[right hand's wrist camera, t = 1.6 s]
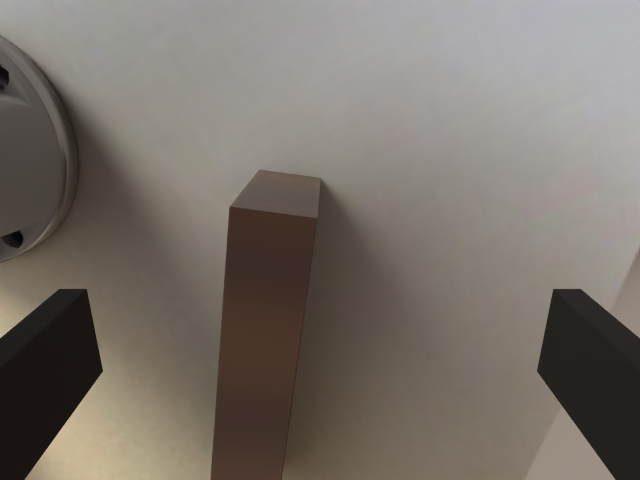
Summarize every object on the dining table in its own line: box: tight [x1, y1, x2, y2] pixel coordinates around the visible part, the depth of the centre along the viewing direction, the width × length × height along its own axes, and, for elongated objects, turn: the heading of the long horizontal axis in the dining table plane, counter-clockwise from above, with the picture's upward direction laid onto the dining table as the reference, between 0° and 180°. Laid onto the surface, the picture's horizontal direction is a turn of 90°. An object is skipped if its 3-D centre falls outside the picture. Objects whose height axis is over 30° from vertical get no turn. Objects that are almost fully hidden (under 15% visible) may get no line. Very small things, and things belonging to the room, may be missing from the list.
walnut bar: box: [211, 170, 321, 480], centre depth 29 cm, size 24×4×9 cm, turn 172°
